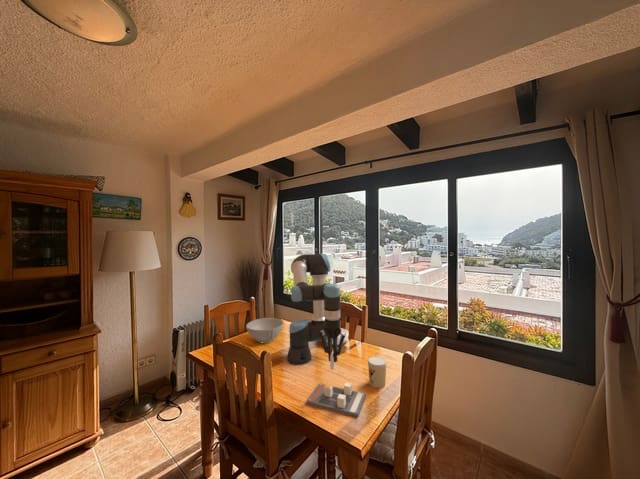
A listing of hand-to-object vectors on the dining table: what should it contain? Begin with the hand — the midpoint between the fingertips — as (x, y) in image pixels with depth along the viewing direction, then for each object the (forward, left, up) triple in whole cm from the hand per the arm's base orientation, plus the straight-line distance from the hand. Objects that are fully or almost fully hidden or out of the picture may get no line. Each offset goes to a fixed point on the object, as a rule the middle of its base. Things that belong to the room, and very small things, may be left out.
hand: (333, 368), depth 121 cm
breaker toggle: (-2, 0, -13) cm, 13 cm away
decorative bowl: (-70, +47, -15) cm, 86 cm away
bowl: (-20, +61, -15) cm, 66 cm away
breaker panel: (+2, 0, -15) cm, 15 cm away
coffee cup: (+17, +20, -15) cm, 30 cm away
